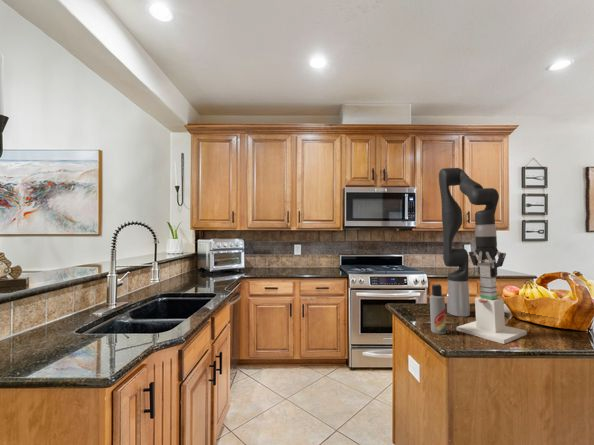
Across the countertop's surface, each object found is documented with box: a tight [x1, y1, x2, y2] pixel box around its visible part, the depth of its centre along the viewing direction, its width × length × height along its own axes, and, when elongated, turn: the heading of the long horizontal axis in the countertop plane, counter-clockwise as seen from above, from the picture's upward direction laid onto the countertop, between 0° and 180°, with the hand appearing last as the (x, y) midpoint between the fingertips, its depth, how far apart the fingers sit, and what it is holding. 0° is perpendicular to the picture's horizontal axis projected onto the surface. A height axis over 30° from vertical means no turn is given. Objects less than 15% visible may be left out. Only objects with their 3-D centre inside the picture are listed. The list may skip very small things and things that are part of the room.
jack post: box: [478, 261, 498, 300], centre depth 119 cm, size 5×5×20 cm
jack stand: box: [456, 296, 528, 345], centre depth 119 cm, size 18×18×14 cm
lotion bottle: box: [429, 283, 447, 335], centre depth 121 cm, size 6×6×20 cm
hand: (487, 276), depth 119 cm, fingers closed on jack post, 4 cm apart
